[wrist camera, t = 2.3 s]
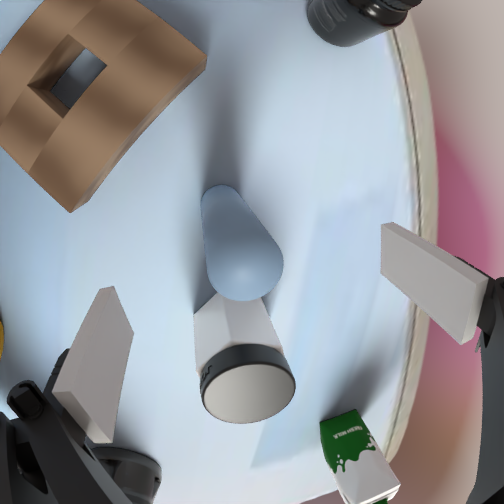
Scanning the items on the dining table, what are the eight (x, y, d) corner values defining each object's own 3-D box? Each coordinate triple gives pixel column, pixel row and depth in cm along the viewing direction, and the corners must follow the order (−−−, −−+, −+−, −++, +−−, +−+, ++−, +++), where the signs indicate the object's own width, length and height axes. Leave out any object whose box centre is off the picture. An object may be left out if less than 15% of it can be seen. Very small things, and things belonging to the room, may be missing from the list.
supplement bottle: (361, 56, 26) (434, 32, 15) (302, 38, 25) (360, -5, 14) (364, 7, 24) (430, -27, 13) (308, -12, 22) (361, -64, 11)
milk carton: (316, 444, 49) (351, 527, 30) (314, 421, 45) (356, 516, 27) (358, 428, 50) (400, 505, 31) (360, 403, 46) (411, 490, 28)
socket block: (88, 201, 27) (70, 213, 22) (-7, 109, 20) (-33, 108, 16) (205, 69, 24) (207, 55, 20) (94, -15, 18) (81, -35, 13)
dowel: (221, 232, 31) (246, 313, 17) (192, 206, 29) (190, 271, 15) (249, 203, 30) (298, 263, 16) (220, 176, 28) (245, 214, 15)
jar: (184, 298, 32) (184, 374, 21) (256, 277, 33) (287, 346, 22) (209, 357, 36) (219, 434, 25) (272, 339, 37) (302, 411, 26)
